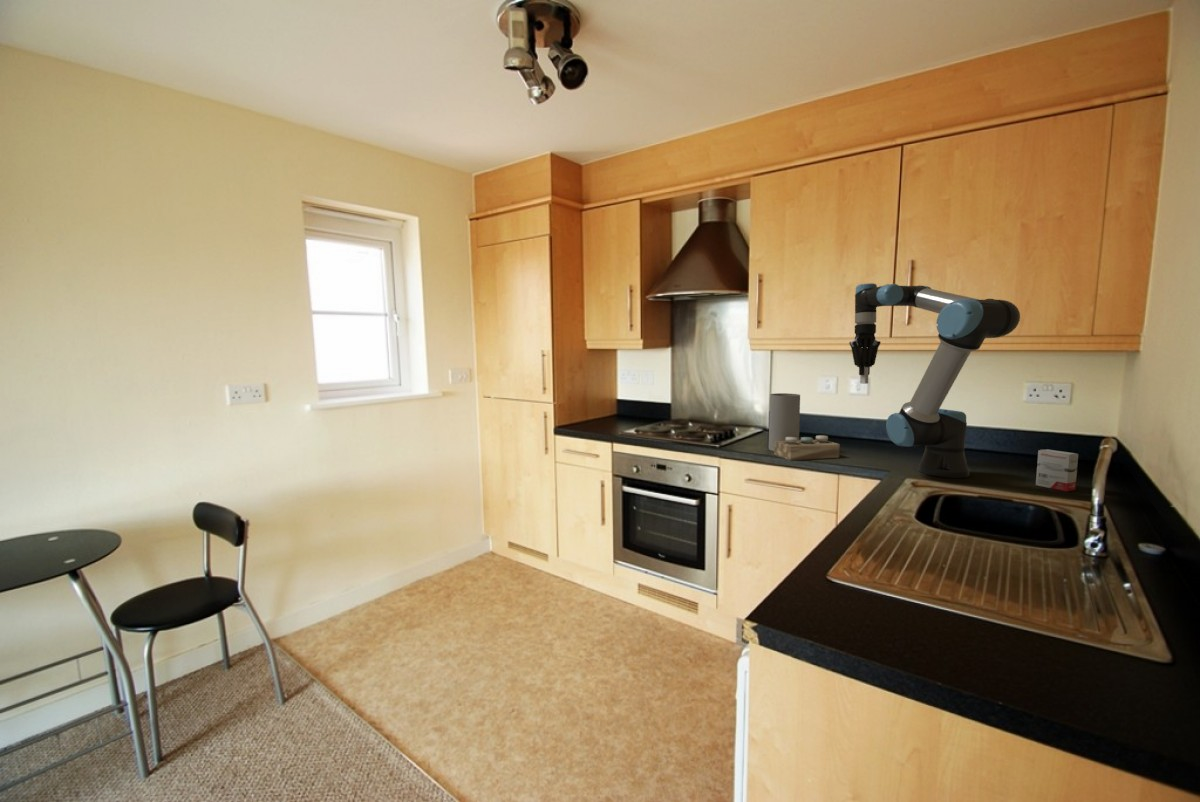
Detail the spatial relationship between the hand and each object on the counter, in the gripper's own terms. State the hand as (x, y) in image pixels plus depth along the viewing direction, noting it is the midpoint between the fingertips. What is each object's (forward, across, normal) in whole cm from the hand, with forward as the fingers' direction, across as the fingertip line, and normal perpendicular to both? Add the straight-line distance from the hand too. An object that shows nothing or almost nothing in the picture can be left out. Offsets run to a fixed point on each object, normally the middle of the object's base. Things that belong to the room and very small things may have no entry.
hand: (864, 383), depth 202 cm
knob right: (+30, +11, -11) cm, 33 cm away
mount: (+31, +18, -12) cm, 37 cm away
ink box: (+33, -28, +51) cm, 67 cm away
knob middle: (+30, +18, -11) cm, 37 cm away
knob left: (+30, +25, -12) cm, 40 cm away
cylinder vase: (+30, +19, -26) cm, 44 cm away
